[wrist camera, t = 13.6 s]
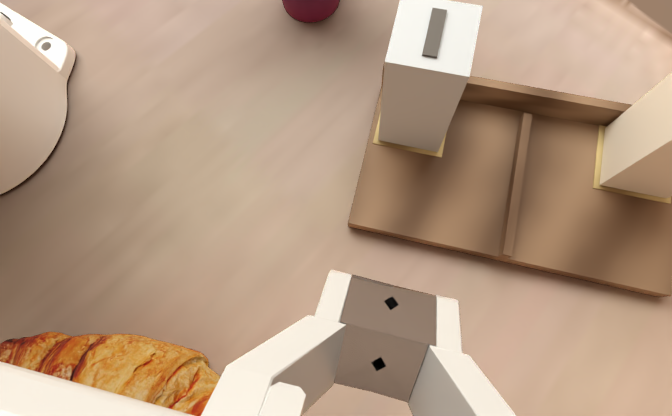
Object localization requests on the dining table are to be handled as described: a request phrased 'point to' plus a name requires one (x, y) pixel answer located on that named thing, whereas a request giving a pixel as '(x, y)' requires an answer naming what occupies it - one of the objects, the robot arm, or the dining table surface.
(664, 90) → the key two
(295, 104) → the dining table surface
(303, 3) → the cup
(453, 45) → the key one
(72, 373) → the croissant
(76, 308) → the dining table surface
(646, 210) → the rail board
